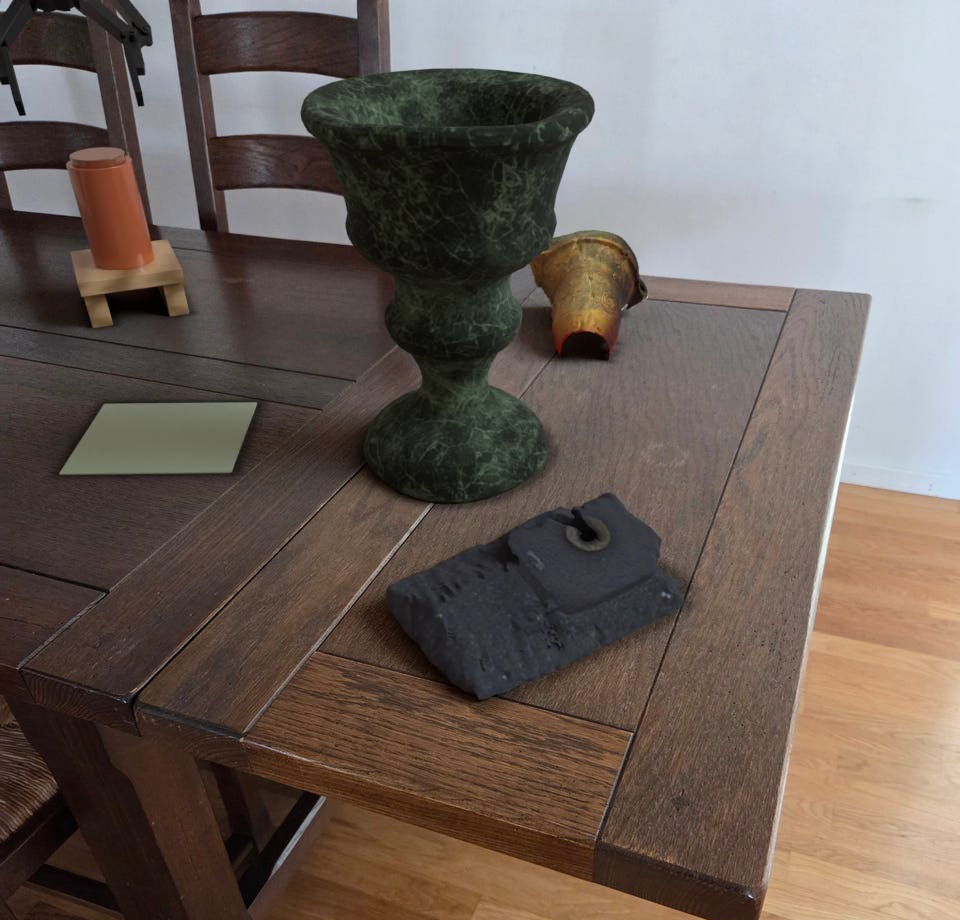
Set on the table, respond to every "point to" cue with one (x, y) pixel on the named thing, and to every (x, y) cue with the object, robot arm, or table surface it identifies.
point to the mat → (162, 439)
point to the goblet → (451, 253)
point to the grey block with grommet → (536, 596)
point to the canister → (110, 208)
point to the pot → (588, 283)
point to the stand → (130, 282)
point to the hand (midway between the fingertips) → (81, 104)
